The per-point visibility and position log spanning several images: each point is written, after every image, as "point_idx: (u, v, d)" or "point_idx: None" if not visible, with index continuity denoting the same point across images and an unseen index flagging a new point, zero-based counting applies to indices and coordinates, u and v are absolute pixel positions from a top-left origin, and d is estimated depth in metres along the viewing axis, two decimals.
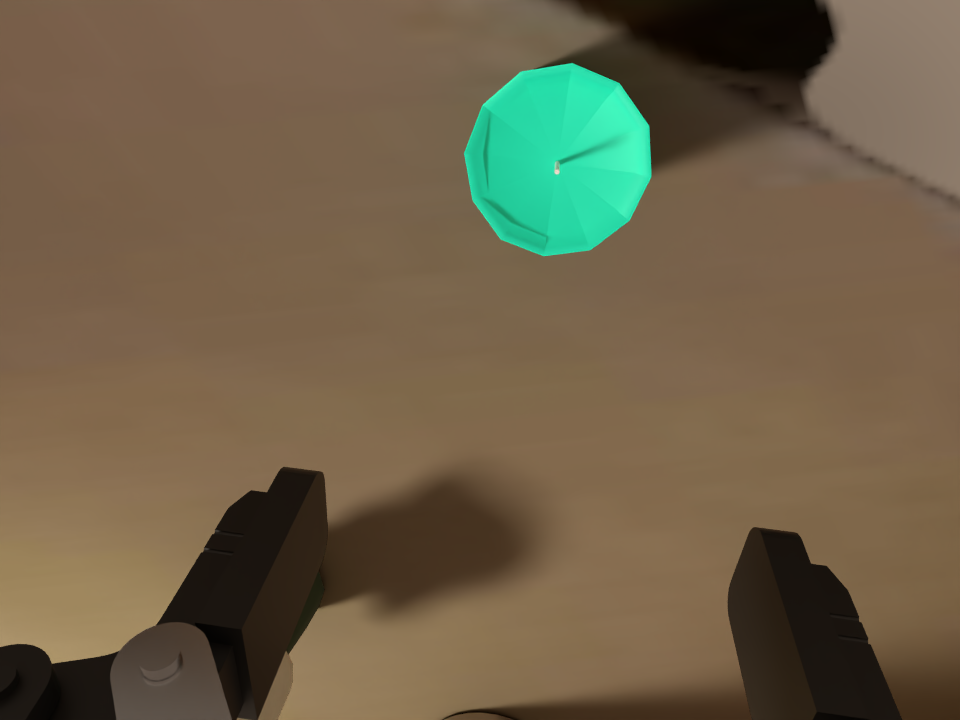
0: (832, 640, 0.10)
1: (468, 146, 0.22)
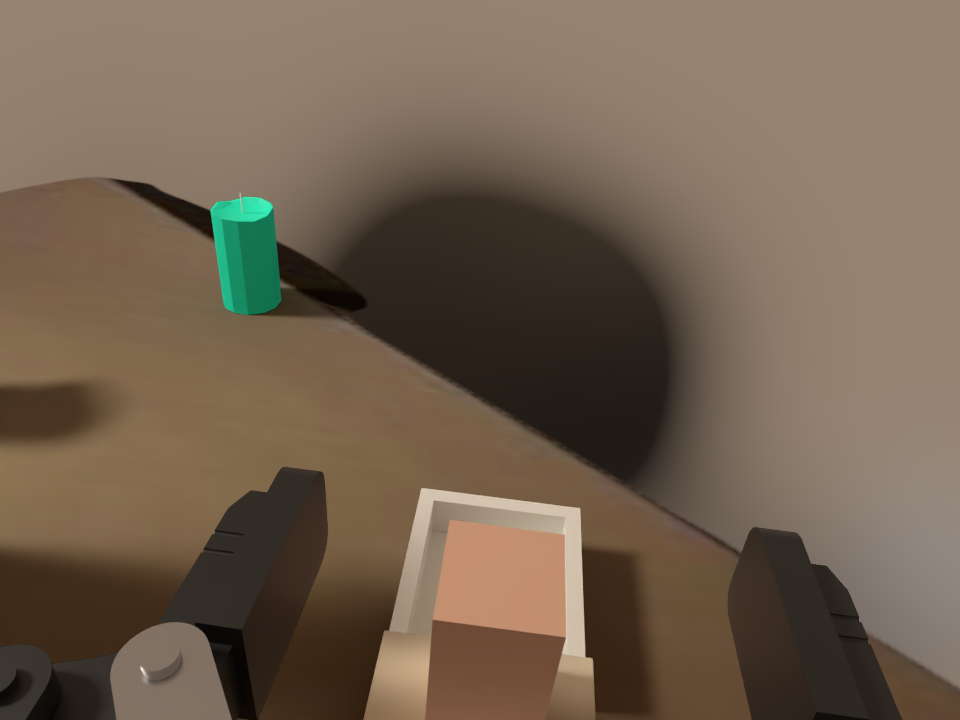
0: (832, 640, 0.10)
1: None
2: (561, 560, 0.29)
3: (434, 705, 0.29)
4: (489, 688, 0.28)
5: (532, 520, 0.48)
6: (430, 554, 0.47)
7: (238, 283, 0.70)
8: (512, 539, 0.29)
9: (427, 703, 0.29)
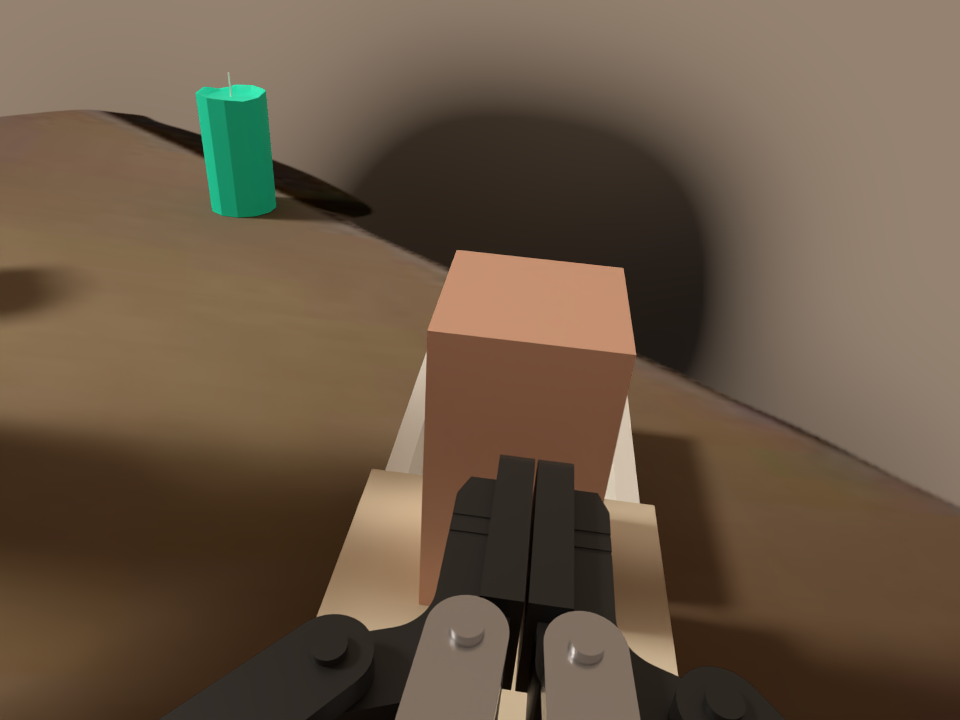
0: (567, 548, 0.11)
1: (206, 87, 0.62)
2: (620, 288, 0.20)
3: (433, 509, 0.20)
4: None
5: None
6: None
7: (226, 178, 0.62)
8: (547, 268, 0.20)
9: (423, 505, 0.20)
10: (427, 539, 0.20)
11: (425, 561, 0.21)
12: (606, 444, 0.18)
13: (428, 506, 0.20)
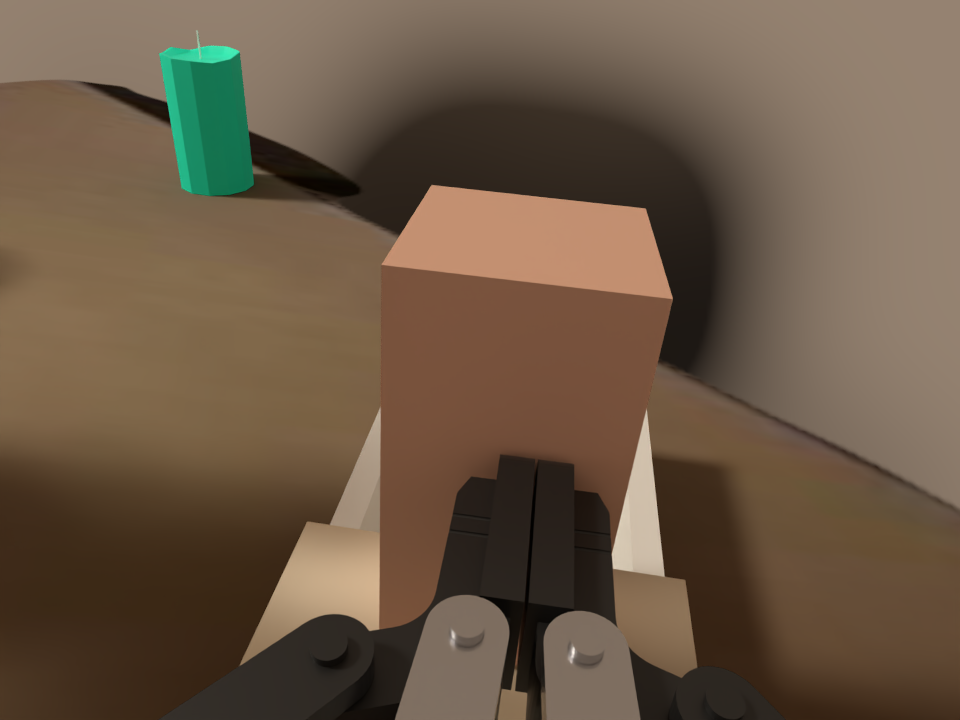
0: (567, 548, 0.11)
1: None
2: (644, 228, 0.15)
3: (395, 519, 0.15)
4: None
5: None
6: None
7: (195, 151, 0.55)
8: (548, 206, 0.16)
9: (382, 513, 0.15)
10: (388, 559, 0.16)
11: (386, 588, 0.16)
12: (628, 429, 0.13)
13: (388, 515, 0.15)
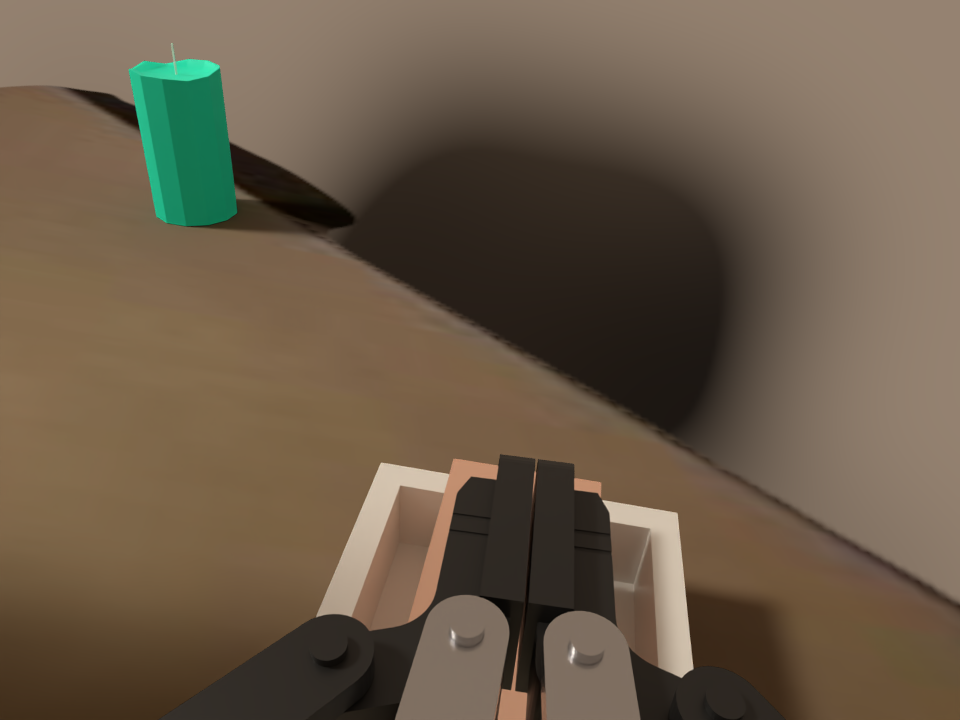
0: (567, 548, 0.11)
1: (147, 61, 0.49)
2: None
3: (425, 602, 0.19)
4: None
5: None
6: (390, 587, 0.25)
7: (170, 177, 0.50)
8: None
9: (416, 597, 0.19)
10: None
11: None
12: None
13: (421, 598, 0.19)
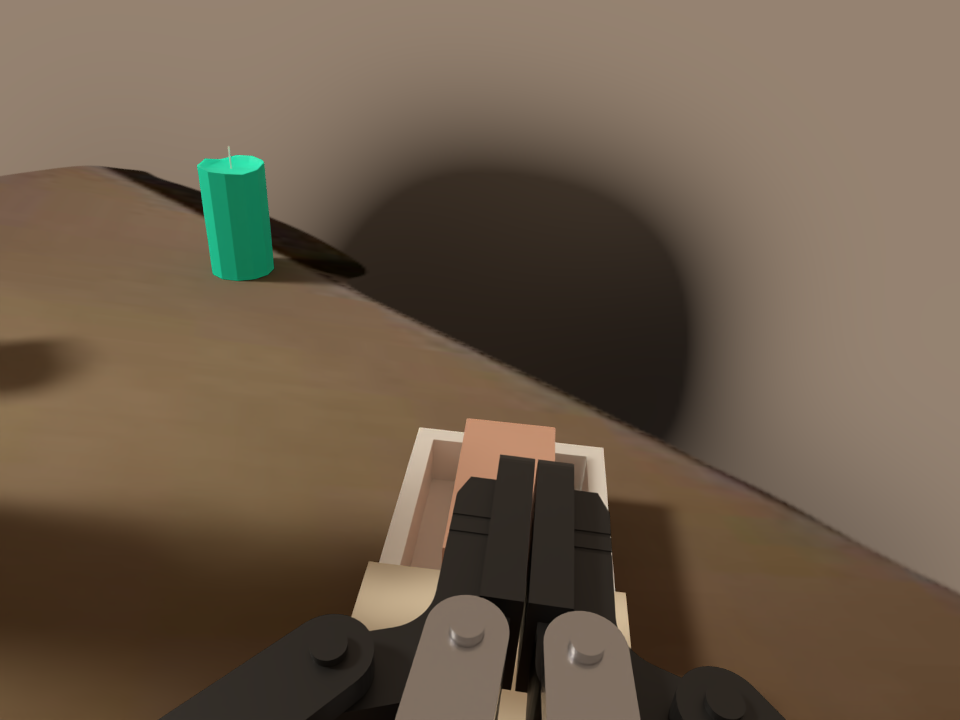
0: (567, 548, 0.11)
1: None
2: None
3: (460, 486, 0.34)
4: None
5: None
6: (430, 502, 0.41)
7: (226, 244, 0.65)
8: None
9: (455, 485, 0.35)
10: None
11: (451, 516, 0.33)
12: (550, 457, 0.37)
13: (458, 485, 0.35)
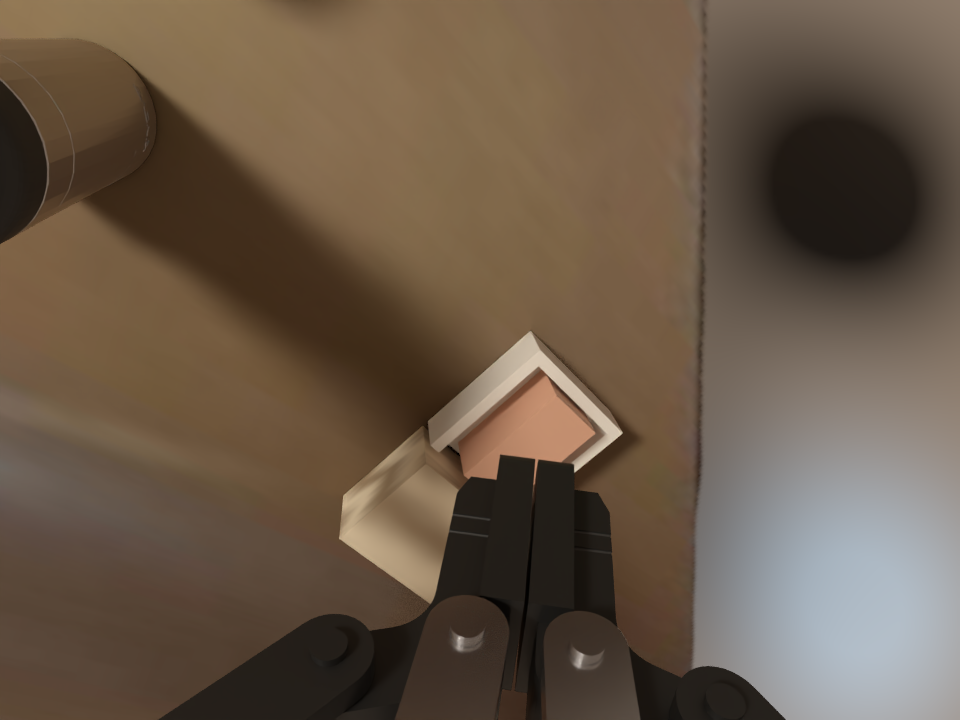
0: (567, 548, 0.11)
1: None
2: None
3: (504, 445, 0.56)
4: (538, 446, 0.56)
5: None
6: None
7: None
8: None
9: (502, 442, 0.55)
10: (491, 453, 0.56)
11: (483, 460, 0.56)
12: (568, 452, 0.57)
13: (503, 443, 0.56)
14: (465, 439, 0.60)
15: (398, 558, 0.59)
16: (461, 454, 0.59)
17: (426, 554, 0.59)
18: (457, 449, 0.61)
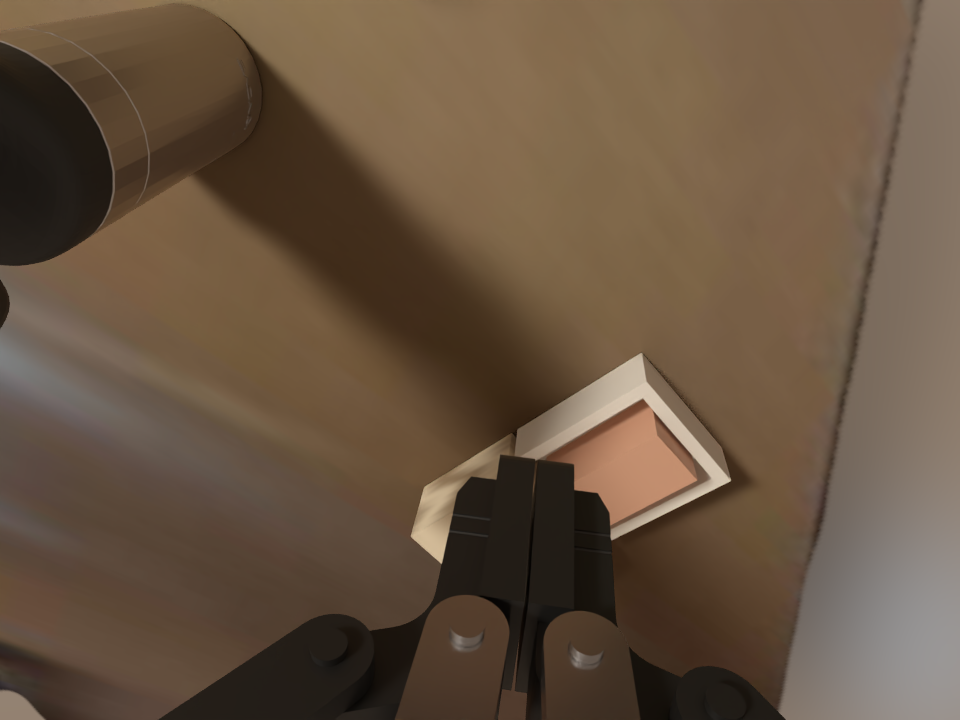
0: (567, 548, 0.11)
1: None
2: None
3: (591, 476, 0.51)
4: (630, 483, 0.51)
5: None
6: None
7: None
8: None
9: (590, 473, 0.51)
10: (577, 482, 0.51)
11: None
12: (662, 495, 0.51)
13: (591, 474, 0.51)
14: (554, 455, 0.56)
15: None
16: None
17: None
18: None
